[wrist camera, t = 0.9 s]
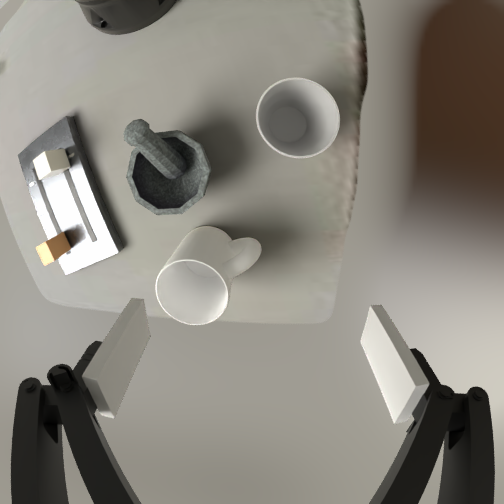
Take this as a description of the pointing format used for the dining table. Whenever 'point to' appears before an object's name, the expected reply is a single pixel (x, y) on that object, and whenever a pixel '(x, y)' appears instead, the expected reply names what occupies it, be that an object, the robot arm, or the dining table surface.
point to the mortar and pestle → (165, 169)
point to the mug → (203, 274)
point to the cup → (297, 117)
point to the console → (70, 199)
